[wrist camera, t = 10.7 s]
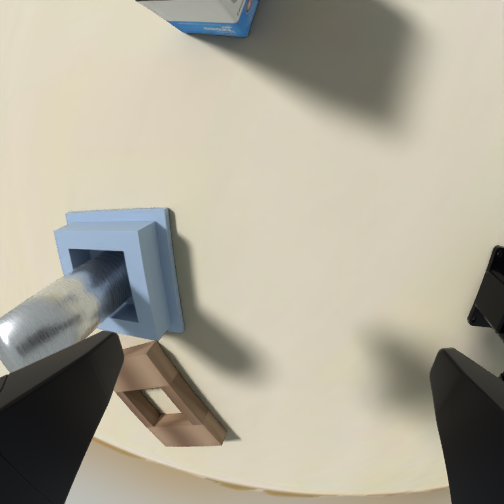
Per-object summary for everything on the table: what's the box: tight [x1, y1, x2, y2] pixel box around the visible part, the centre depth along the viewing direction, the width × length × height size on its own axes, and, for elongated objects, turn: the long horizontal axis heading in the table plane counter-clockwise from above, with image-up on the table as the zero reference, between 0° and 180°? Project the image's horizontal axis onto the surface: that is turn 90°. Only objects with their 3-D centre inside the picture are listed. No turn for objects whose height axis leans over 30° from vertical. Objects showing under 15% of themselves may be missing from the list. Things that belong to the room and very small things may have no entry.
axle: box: [0, 250, 132, 373], centre depth 17 cm, size 4×4×12 cm
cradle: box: [54, 208, 185, 341], centre depth 22 cm, size 10×10×3 cm
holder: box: [114, 341, 227, 447], centre depth 27 cm, size 8×13×2 cm, turn 28°
